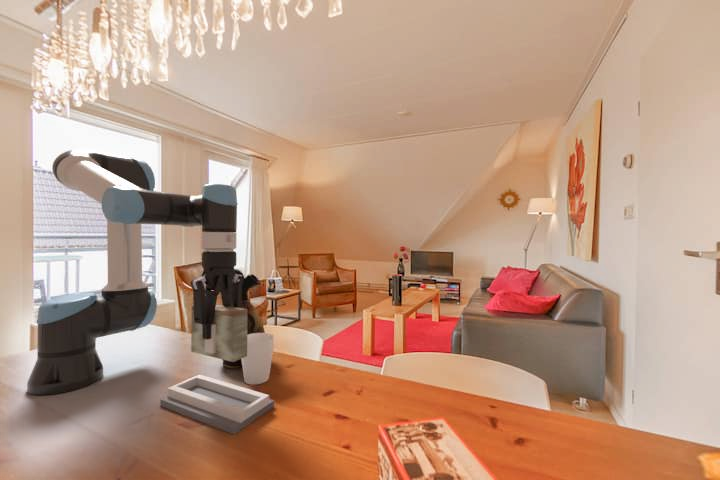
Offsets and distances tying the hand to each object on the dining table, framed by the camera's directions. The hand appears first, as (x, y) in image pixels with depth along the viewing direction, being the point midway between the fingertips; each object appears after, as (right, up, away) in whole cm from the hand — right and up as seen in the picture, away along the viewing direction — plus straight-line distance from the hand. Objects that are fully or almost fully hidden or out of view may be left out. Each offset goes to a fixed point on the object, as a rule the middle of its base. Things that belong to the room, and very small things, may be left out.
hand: (218, 348), depth 75 cm
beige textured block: (0, -1, 0) cm, 1 cm away
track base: (0, -14, 0) cm, 14 cm away
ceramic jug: (-6, -14, +26) cm, 30 cm away
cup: (+4, -14, +15) cm, 21 cm away
